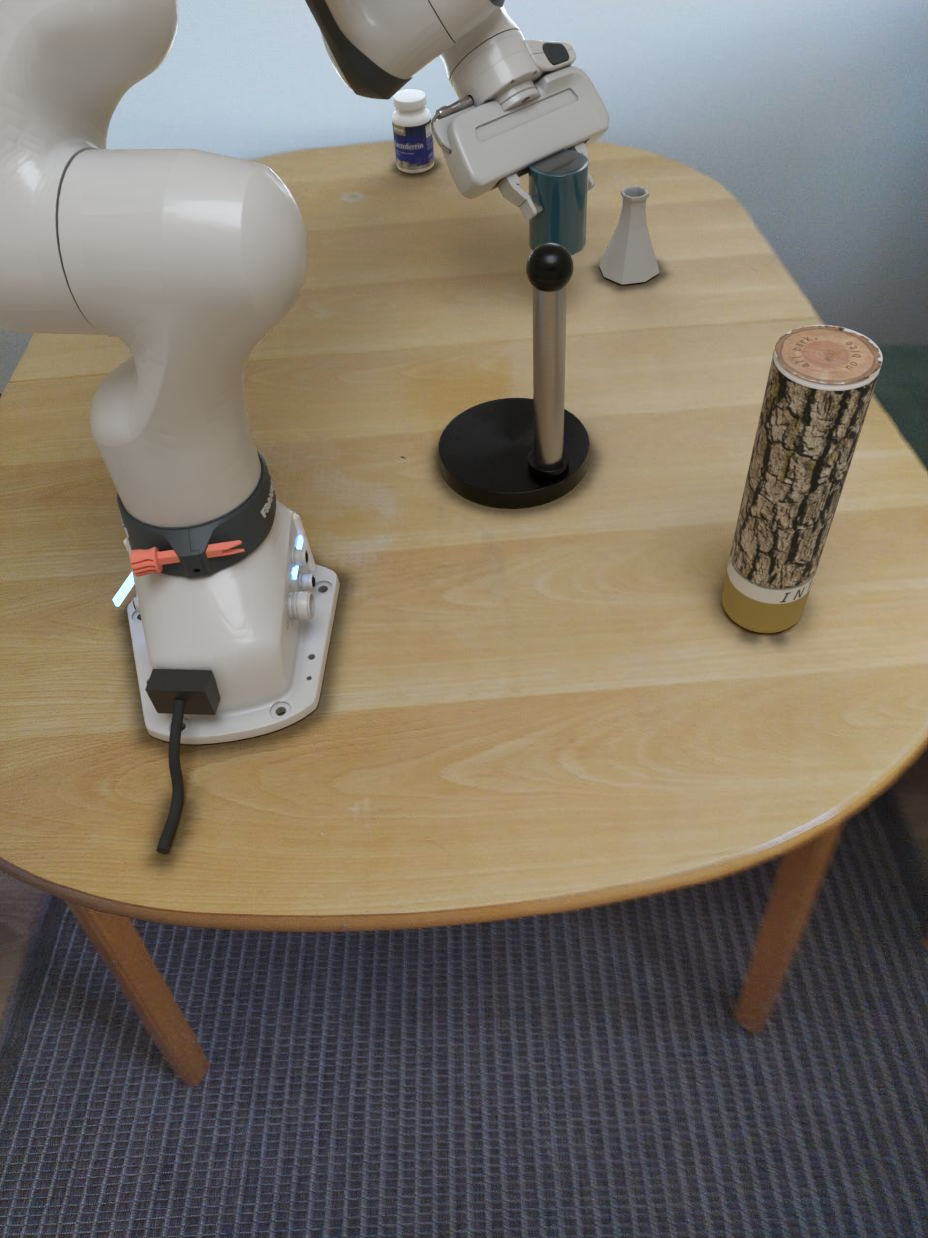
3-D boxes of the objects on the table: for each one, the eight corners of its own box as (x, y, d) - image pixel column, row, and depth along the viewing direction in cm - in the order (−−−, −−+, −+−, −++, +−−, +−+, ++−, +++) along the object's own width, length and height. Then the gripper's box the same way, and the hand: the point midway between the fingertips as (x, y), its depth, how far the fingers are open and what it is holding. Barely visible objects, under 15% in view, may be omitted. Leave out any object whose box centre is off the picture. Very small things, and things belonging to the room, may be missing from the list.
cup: (591, 253, 105) (595, 170, 98) (535, 261, 104) (534, 178, 98) (578, 226, 109) (581, 145, 102) (524, 233, 109) (523, 152, 102)
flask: (589, 265, 119) (592, 186, 112) (638, 250, 121) (644, 171, 113) (619, 291, 115) (624, 211, 107) (669, 275, 116) (678, 195, 109)
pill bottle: (392, 173, 140) (384, 102, 132) (402, 157, 144) (395, 86, 136) (429, 175, 139) (423, 103, 131) (439, 158, 143) (433, 87, 135)
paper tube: (709, 621, 80) (761, 369, 61) (733, 568, 84) (790, 316, 65) (790, 647, 77) (870, 394, 59) (811, 592, 81) (893, 337, 62)
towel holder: (410, 458, 96) (379, 227, 78) (518, 395, 102) (513, 166, 84) (508, 531, 89) (500, 293, 70) (619, 458, 94) (638, 221, 76)
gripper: (435, 96, 94) (504, 224, 96) (581, 38, 102) (642, 157, 104) (412, 130, 99) (477, 250, 102) (552, 73, 107) (610, 185, 110)
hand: (562, 203), depth 103 cm, fingers closed on cup, 6 cm apart
